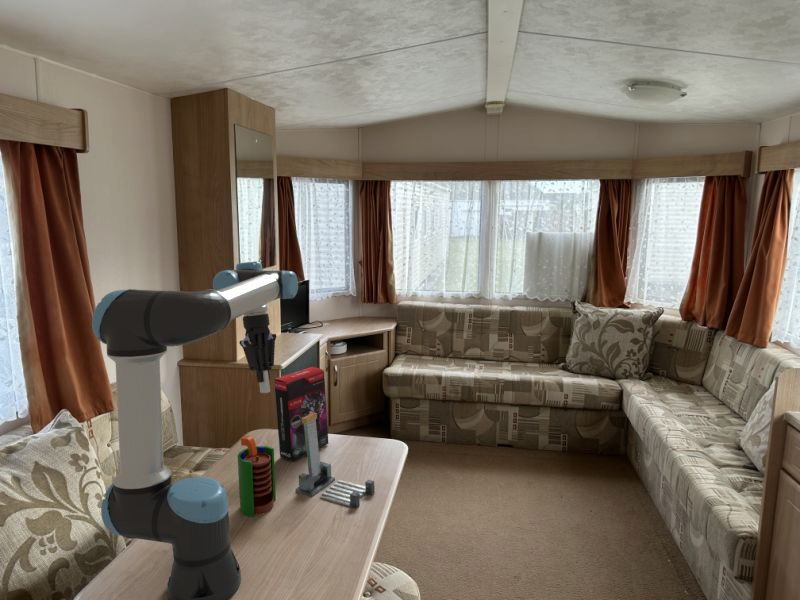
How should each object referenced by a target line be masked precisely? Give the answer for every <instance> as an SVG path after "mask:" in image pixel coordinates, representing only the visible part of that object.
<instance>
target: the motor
mask: <svg viewBox="0 0 800 600" xmlns="http://www.w3.org/2000/svg"><path fill="white" fill-rule="evenodd" d="M240 445H241V446H243V447H244V446H245V447H247V448H244V449H242V450H241V451H239V452H238V454H237V471H238V472H237V473H238V489H239V490H238V493H239V510H240V511H239V512H240V513H241V514H242V515H243V516H246V517H248V518H254V517H255V516H256V515H259V516H260V515H262V514H263V513H264V514H267V513H268V512H270V511H272V509H274V506H275V505H274V502H276V501H277V499H276V473H275V472H276V471H275V470H276V469H275V468H276V467H275V449H274V447H271V446H268V445H256V442H255V439H254V437H253V436H251V435H244V436H243V437H241V438H240ZM264 514H263V515H264Z"/></svg>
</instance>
